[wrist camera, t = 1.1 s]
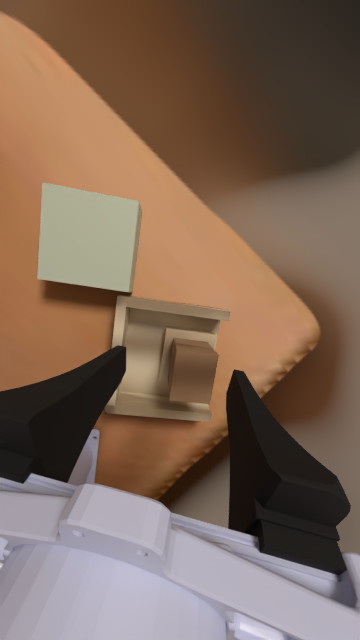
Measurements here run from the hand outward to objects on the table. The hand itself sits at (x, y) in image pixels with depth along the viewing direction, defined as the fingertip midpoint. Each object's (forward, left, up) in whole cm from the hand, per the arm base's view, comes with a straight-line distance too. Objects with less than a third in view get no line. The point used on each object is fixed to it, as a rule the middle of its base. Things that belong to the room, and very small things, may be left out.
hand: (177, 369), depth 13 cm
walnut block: (-3, -2, -10) cm, 11 cm away
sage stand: (+9, +10, -12) cm, 18 cm away
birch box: (-3, 0, -12) cm, 12 cm away
